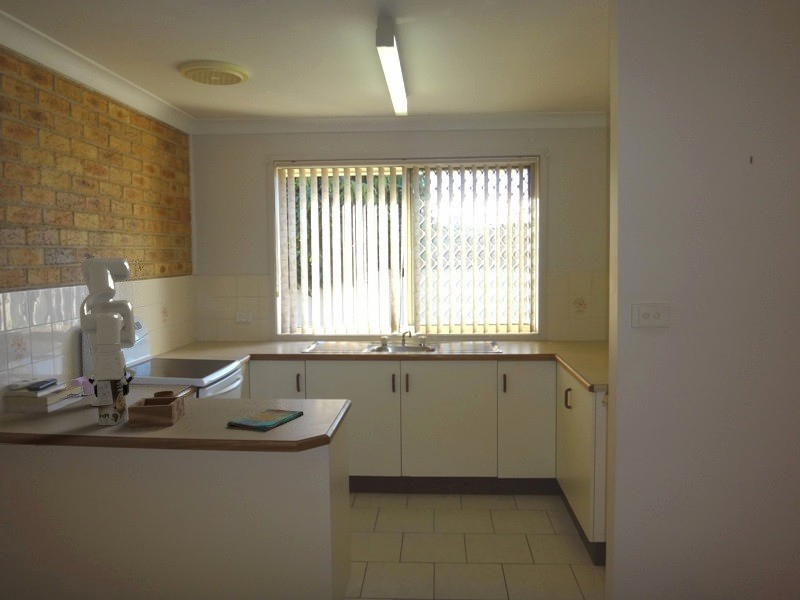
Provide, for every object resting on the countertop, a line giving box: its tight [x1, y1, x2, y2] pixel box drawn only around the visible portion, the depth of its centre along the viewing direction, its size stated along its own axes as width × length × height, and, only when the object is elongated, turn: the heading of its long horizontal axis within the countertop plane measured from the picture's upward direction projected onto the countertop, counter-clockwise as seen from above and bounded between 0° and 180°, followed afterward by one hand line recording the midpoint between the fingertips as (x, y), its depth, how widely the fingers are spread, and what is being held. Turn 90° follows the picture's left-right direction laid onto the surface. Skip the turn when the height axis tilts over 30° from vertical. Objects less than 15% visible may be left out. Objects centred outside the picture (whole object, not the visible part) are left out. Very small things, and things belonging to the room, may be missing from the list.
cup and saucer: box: [152, 390, 175, 398], centre depth 244 cm, size 12×12×6 cm
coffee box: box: [97, 380, 128, 426], centre depth 223 cm, size 9×6×16 cm
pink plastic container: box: [70, 375, 94, 394], centre depth 280 cm, size 20×12×7 cm, turn 144°
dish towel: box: [226, 408, 304, 432], centre depth 219 cm, size 17×23×2 cm
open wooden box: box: [127, 396, 186, 428], centre depth 223 cm, size 15×15×7 cm
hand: (112, 395), depth 222 cm, fingers open, 9 cm apart
